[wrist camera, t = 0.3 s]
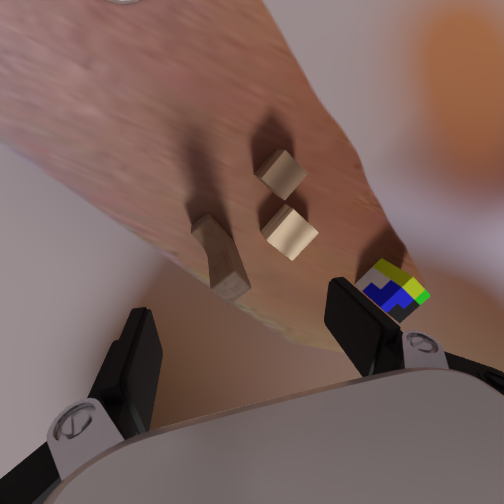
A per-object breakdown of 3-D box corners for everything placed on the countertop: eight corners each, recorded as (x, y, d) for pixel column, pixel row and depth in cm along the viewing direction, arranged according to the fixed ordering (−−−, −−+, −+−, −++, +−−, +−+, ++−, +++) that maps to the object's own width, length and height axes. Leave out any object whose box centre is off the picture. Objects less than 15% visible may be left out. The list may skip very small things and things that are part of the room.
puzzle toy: (354, 284, 62) (380, 307, 53) (381, 257, 60) (413, 276, 51) (372, 299, 66) (399, 323, 57) (398, 275, 64) (430, 295, 55)
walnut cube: (253, 174, 44) (261, 178, 38) (274, 149, 42) (285, 149, 37) (274, 194, 46) (284, 200, 41) (294, 170, 45) (307, 174, 40)
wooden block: (190, 225, 45) (186, 268, 29) (207, 211, 45) (213, 247, 29) (219, 255, 49) (229, 307, 33) (235, 242, 49) (253, 289, 33)
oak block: (260, 231, 49) (266, 240, 44) (284, 203, 47) (293, 209, 43) (284, 251, 52) (292, 260, 48) (308, 225, 51) (318, 232, 46)
